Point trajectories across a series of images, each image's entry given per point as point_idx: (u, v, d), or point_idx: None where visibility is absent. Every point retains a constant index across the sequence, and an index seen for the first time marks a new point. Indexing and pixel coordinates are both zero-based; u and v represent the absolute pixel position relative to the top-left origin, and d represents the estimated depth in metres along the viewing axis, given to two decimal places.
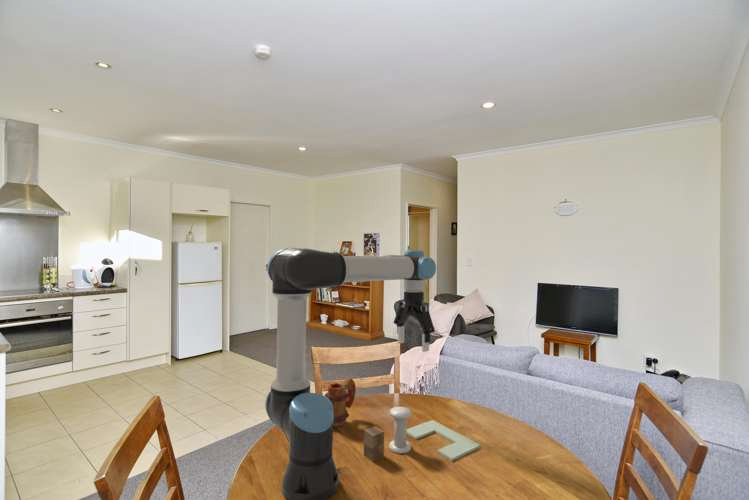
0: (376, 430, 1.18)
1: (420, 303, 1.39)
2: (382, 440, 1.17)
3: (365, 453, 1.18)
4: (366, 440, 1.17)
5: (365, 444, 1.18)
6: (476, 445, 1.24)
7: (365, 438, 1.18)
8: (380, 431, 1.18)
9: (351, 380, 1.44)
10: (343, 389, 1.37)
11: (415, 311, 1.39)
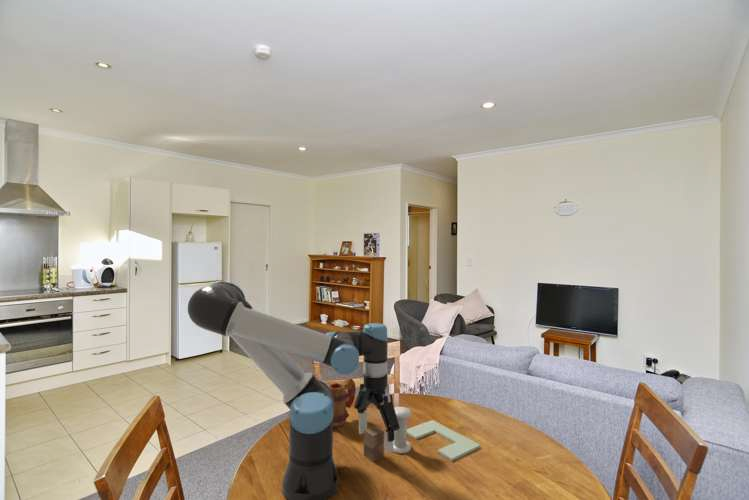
0: (376, 430, 1.18)
1: (382, 391, 1.15)
2: (382, 440, 1.17)
3: (365, 453, 1.18)
4: (366, 440, 1.17)
5: (365, 444, 1.18)
6: (476, 445, 1.24)
7: (365, 438, 1.18)
8: (380, 431, 1.18)
9: (351, 380, 1.44)
10: (343, 389, 1.37)
11: (376, 401, 1.15)
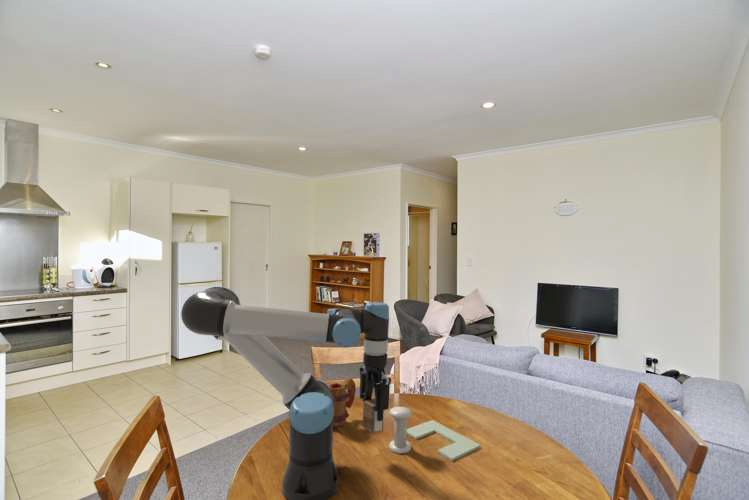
0: None
1: (382, 369, 1.15)
2: None
3: (364, 424, 1.18)
4: (365, 411, 1.17)
5: (365, 415, 1.17)
6: (476, 445, 1.24)
7: (364, 409, 1.18)
8: None
9: (351, 380, 1.44)
10: (343, 389, 1.37)
11: (374, 380, 1.15)
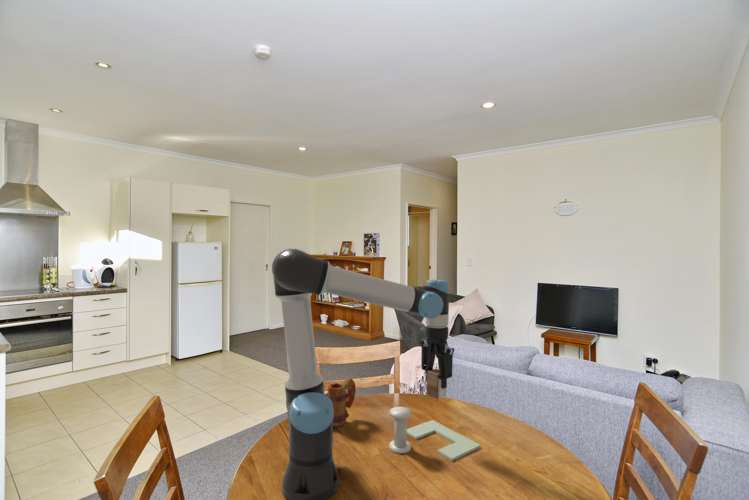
0: (438, 371, 1.27)
1: (445, 340, 1.24)
2: None
3: (428, 392, 1.27)
4: (429, 380, 1.26)
5: (429, 384, 1.27)
6: (476, 445, 1.24)
7: (428, 378, 1.27)
8: None
9: (351, 380, 1.44)
10: (343, 389, 1.37)
11: (438, 351, 1.24)
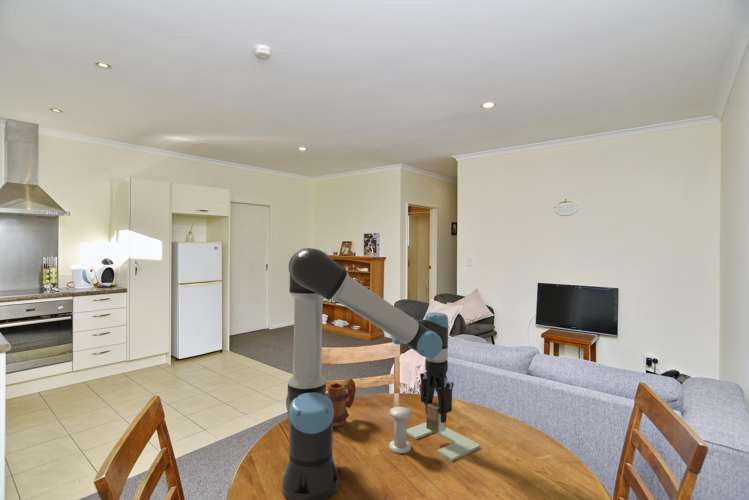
0: (438, 404, 1.27)
1: (444, 374, 1.24)
2: None
3: (428, 426, 1.27)
4: (429, 414, 1.27)
5: (428, 417, 1.27)
6: (476, 445, 1.24)
7: (427, 412, 1.27)
8: None
9: (351, 380, 1.44)
10: (343, 389, 1.37)
11: (437, 385, 1.24)
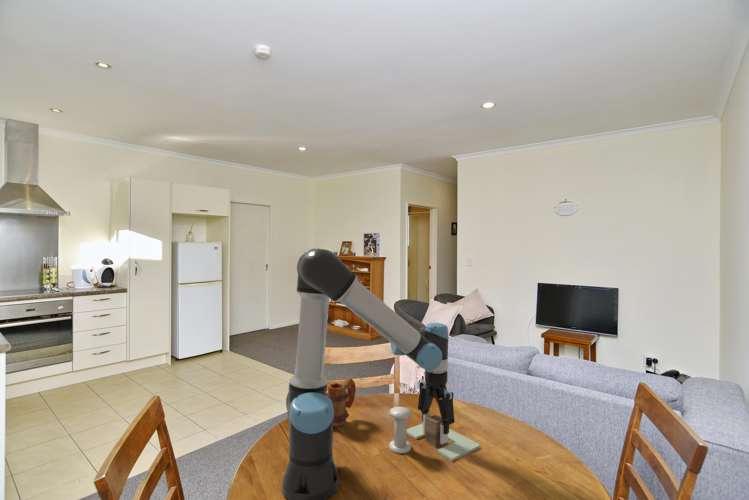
0: (437, 418, 1.27)
1: (444, 386, 1.24)
2: None
3: (427, 439, 1.27)
4: (428, 427, 1.27)
5: (428, 431, 1.27)
6: (476, 445, 1.24)
7: (427, 425, 1.27)
8: (441, 419, 1.27)
9: (351, 380, 1.44)
10: (343, 389, 1.37)
11: (437, 396, 1.24)
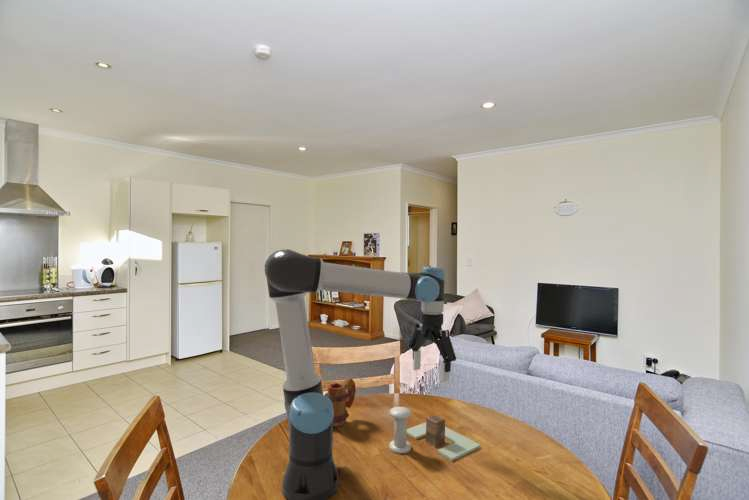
0: (437, 418, 1.27)
1: (439, 327, 1.24)
2: (443, 427, 1.26)
3: (427, 439, 1.27)
4: (428, 427, 1.27)
5: (428, 431, 1.27)
6: (476, 445, 1.24)
7: (427, 425, 1.27)
8: (441, 419, 1.27)
9: (351, 380, 1.44)
10: (343, 389, 1.37)
11: (434, 336, 1.24)
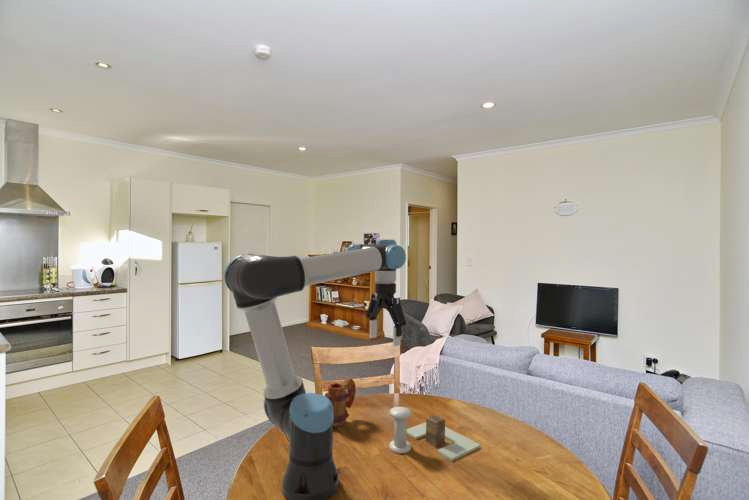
0: (437, 418, 1.27)
1: (392, 295, 1.32)
2: (443, 427, 1.26)
3: (427, 439, 1.27)
4: (428, 427, 1.27)
5: (428, 431, 1.27)
6: (476, 445, 1.24)
7: (427, 425, 1.27)
8: (441, 419, 1.27)
9: (351, 380, 1.44)
10: (343, 389, 1.37)
11: (386, 303, 1.32)
